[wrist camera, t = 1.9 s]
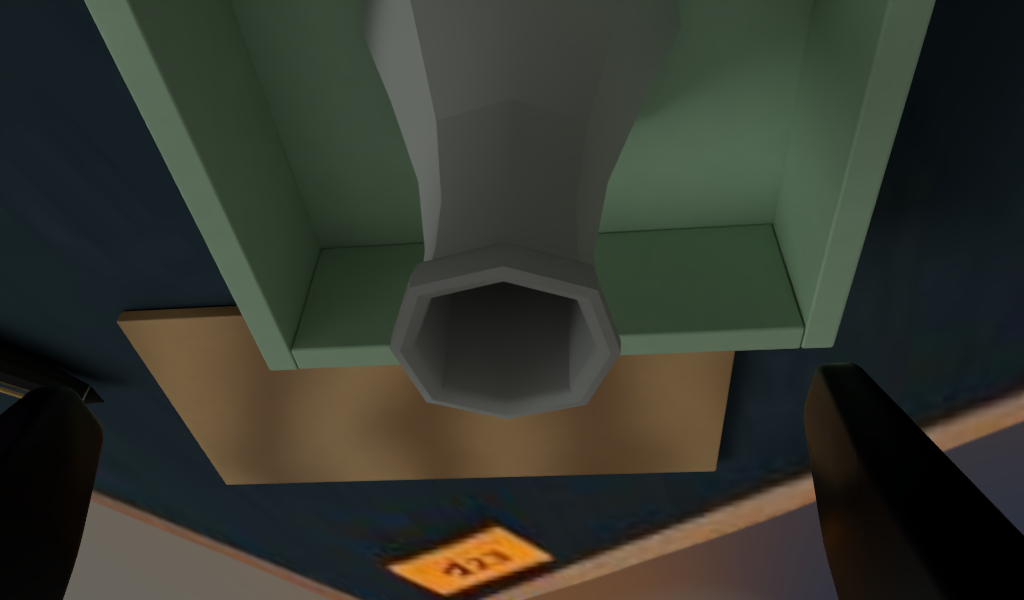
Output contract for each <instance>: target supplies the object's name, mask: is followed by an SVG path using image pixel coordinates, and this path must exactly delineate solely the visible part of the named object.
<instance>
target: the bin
mask: <svg viewBox="0 0 1024 600" xmlns="http://www.w3.org/2000/svg"><path fill="white" fill-rule="evenodd" d="M84 1H85V3H86V5H87V7H88V9H89V11H90V13H91V15H92V17H93V19H94V21H95V23H96V25H97V27H98V29H99V31H100V33H101V35H102V37H103V39H104V41H105V43H106V45H107V47H108V49H109V51H110V53H111V55H112V57H113V59H114V61H115V63H116V65H117V67H118V69H119V71H120V73H121V75H122V77H123V79H124V81H125V83H126V85H127V87H128V89H129V91H130V93H131V95H132V97H133V99H134V101H135V103H136V105H137V107H138V109H139V111H140V113H141V115H142V117H143V119H144V121H145V123H146V125H147V127H148V129H149V131H150V133H151V135H152V137H153V138H154V140H155V142H156V144H157V146H158V148H159V150H160V152H161V154H162V156H163V158H164V160H165V162H166V164H167V166H168V168H169V170H170V172H171V174H172V176H173V178H174V180H175V182H176V184H177V186H178V188H179V190H180V192H181V194H182V196H183V198H184V200H185V202H186V204H187V206H188V208H189V210H190V212H191V214H192V216H193V218H194V220H195V222H196V224H197V226H198V228H199V230H200V232H201V234H202V236H203V238H204V240H205V242H206V244H207V246H208V248H209V250H210V252H211V254H212V256H213V258H214V260H215V262H216V264H217V266H218V268H219V270H220V272H221V274H222V276H223V278H224V280H225V282H226V284H227V286H228V288H229V290H230V292H231V294H232V296H233V298H234V300H235V302H236V304H237V306H238V308H239V310H240V312H241V314H242V316H243V318H244V320H245V322H246V324H247V326H248V328H249V330H250V332H251V334H252V336H253V338H254V340H255V342H256V344H257V346H258V348H259V350H260V352H261V354H262V356H263V358H264V359H265V361H266V363H267V365H268V367H269V369H270V370H271V371H273V370H296V369H298V367H299V368H301V369H308V368H333V367H357V366H381V365H400V363H399V362H398V360H397V359H396V357H395V356H394V354H393V353H392V352H391V350H390V343H391V336H392V333H393V330H394V326H395V323H396V320H397V317H398V314H399V311H400V307H401V304H402V301H403V298H404V295H405V292H406V288H407V285H408V282H409V279H410V276H411V274H412V272H413V270H414V268H415V266H416V265H417V264H419V263H421V262H424V255H425V245H424V235H423V224H422V214H421V204H420V194H419V183H418V179H417V176H416V173H415V170H414V168H413V165H412V162H411V159H410V156H409V153H408V150H407V147H406V144H405V141H404V138H403V135H402V132H401V130H400V127H399V124H398V121H397V118H396V115H395V112H394V109H393V106H392V103H391V101H390V98H389V96H388V93H387V91H386V89H385V86H384V84H383V81H382V79H381V77H380V74H379V72H378V69H377V67H376V65H375V62H374V60H373V57H372V55H371V53H370V50H369V48H368V45H367V42H366V40H365V37H364V34H363V31H362V28H361V25H360V24H361V18H362V13H363V8H364V3H365V0H84ZM676 1H677V6H678V11H679V16H680V21H681V27H680V30H679V32H678V34H677V36H676V39H675V41H674V43H673V45H672V47H671V49H670V51H669V53H668V55H667V57H666V59H665V61H664V63H663V65H662V67H661V69H660V71H659V73H658V75H657V77H656V79H655V81H654V83H653V85H652V87H651V89H650V91H649V93H648V95H647V97H646V99H645V101H644V103H643V105H642V107H641V109H640V111H639V113H638V115H637V117H636V120H635V122H634V124H633V127H632V129H631V131H630V133H629V136H628V138H627V140H626V143H625V145H624V147H623V149H622V152H621V154H620V156H619V158H618V161H617V163H616V165H615V168H614V170H613V172H612V174H611V177H610V179H609V181H608V184H607V189H606V194H605V199H604V205H603V210H602V215H601V220H600V226H599V231H598V236H597V241H596V247H595V252H594V256H595V272H596V275H597V277H598V280H599V283H600V285H601V288H602V291H603V293H604V296H605V299H606V302H607V304H608V307H609V310H610V312H611V315H612V318H613V321H614V323H615V326H616V329H617V332H618V334H619V337H620V340H621V353H620V355H619V356H622V355H646V354H670V353H694V352H718V351H742V350H766V349H791V348H799V347H800V345H801V347H802V348H823V347H833V345H834V342H835V338H836V335H837V332H838V328H839V325H840V322H841V318H842V315H843V312H844V308H845V305H846V301H847V298H848V295H849V291H850V288H851V285H852V281H853V278H854V274H855V271H856V268H857V264H858V261H859V258H860V254H861V251H862V247H863V244H864V241H865V237H866V234H867V231H868V227H869V224H870V220H871V217H872V214H873V210H874V207H875V204H876V200H877V197H878V193H879V190H880V187H881V183H882V180H883V177H884V173H885V170H886V166H887V163H888V160H889V156H890V153H891V150H892V146H893V143H894V139H895V136H896V133H897V129H898V126H899V123H900V119H901V116H902V113H903V109H904V106H905V102H906V99H907V96H908V92H909V89H910V86H911V82H912V79H913V75H914V72H915V69H916V65H917V62H918V59H919V55H920V52H921V48H922V45H923V42H924V38H925V35H926V32H927V28H928V25H929V21H930V18H931V15H932V11H933V8H934V5H935V1H936V0H676Z"/></svg>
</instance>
